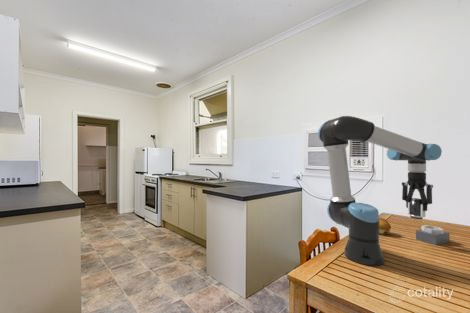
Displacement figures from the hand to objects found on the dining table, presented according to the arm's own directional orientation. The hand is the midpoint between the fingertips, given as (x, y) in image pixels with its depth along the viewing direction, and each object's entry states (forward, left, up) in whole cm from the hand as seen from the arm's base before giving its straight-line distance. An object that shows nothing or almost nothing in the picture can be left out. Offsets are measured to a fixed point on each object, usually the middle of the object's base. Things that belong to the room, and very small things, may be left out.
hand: (416, 215), depth 117 cm
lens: (0, 0, -1) cm, 1 cm away
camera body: (+12, -1, -15) cm, 19 cm away
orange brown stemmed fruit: (-1, +18, -15) cm, 24 cm away
